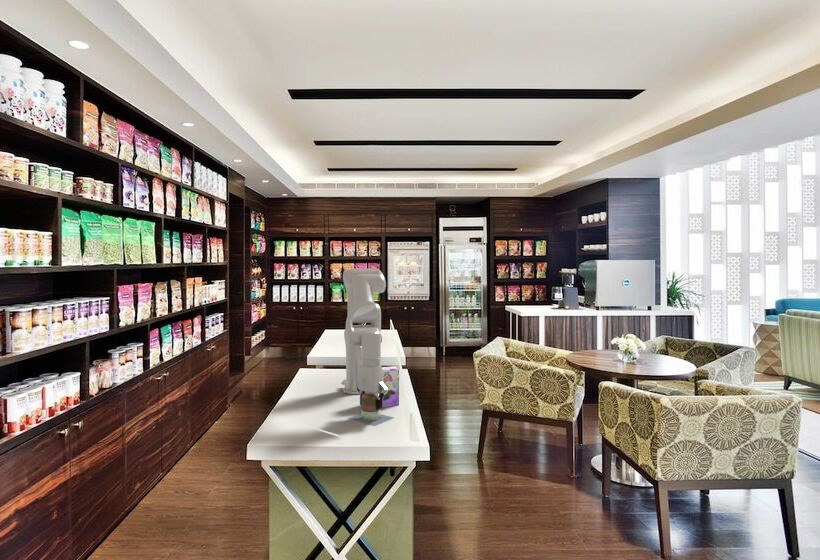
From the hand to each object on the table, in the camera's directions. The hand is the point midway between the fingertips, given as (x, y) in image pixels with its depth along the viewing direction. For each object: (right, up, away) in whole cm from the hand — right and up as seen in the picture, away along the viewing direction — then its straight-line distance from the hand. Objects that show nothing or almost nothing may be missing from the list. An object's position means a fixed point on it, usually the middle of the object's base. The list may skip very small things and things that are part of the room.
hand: (371, 406), depth 183 cm
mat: (0, -5, 0) cm, 5 cm away
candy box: (+3, -5, +18) cm, 19 cm away
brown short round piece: (0, -1, 0) cm, 1 cm away
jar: (0, -5, 0) cm, 5 cm away
